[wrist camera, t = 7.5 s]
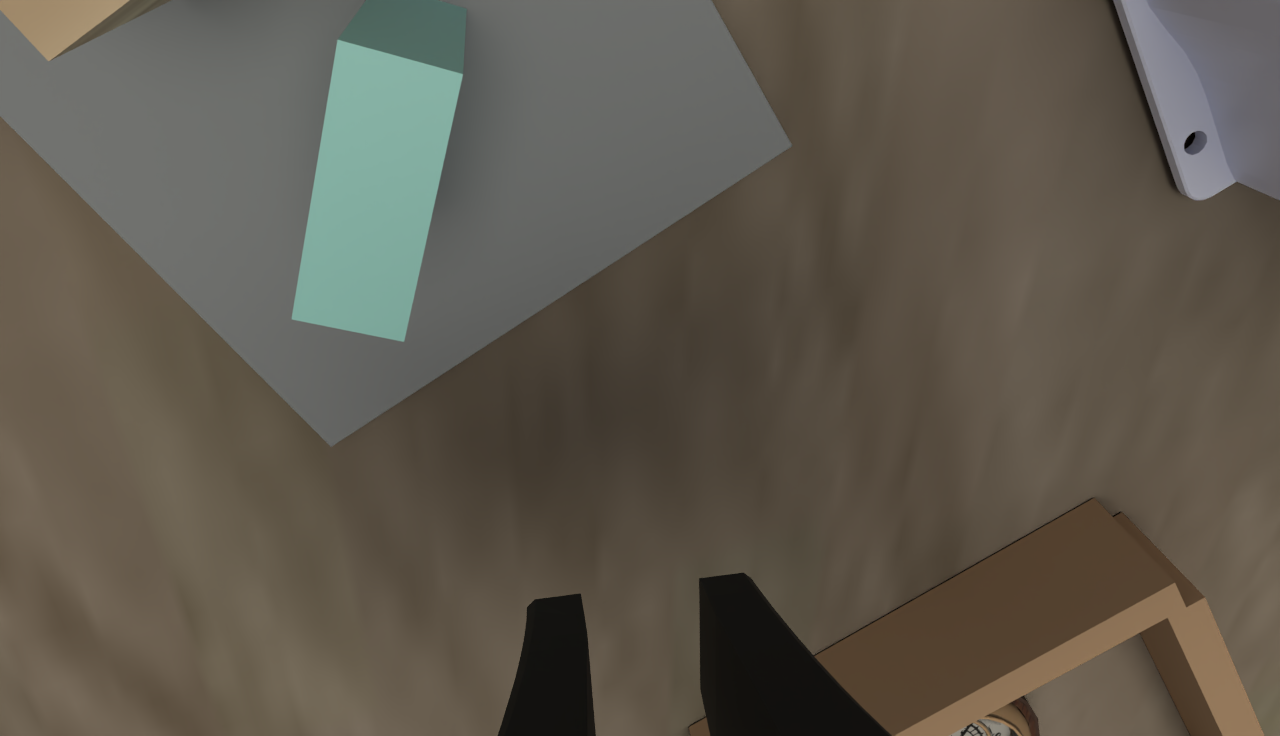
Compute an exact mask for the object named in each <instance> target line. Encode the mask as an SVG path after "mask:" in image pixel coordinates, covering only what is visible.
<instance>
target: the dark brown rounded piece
mask: <svg viewBox="0 0 1280 736" xmlns="http://www.w3.org/2000/svg"><path fill="white" fill-rule="evenodd" d="M949 736H1040V735H1039V726H1038V718H1037V716H1036V715H1035V713H1034V711H1033V710H1032V708H1031V707H1030V705H1029V703H1028V702H1027V700H1026V699H1025V697H1024V696H1022V697H1020V698H1018V699H1016V700H1014V701H1012V702H1010V703H1009V704H1007V705H1005V706H1003V707H1001V708H999V709H998V710H996V711H994V712H992V713H990V714H988V715H986V716H985V717H983V718H981V719H979V720H977V721H975V722H973V723H972V724H970V725H968V726H966V727H964V728H962V729H960V730H959V731H957V732H955V733H953V734H951V735H949Z"/></svg>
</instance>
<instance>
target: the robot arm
mask: <svg viewBox="0 0 1280 736" xmlns="http://www.w3.org/2000/svg"><path fill="white" fill-rule="evenodd" d="M1113 1H1114V4H1115V7H1116V10H1117V13H1118V16H1119V19H1120V22H1121V25H1122V28H1123V31H1124V34H1125V36H1126V39H1127V42H1128V45H1129V48H1130V51H1131V54H1132V57H1133V60H1134V63H1135V66H1136V69H1137V72H1138V75H1139V78H1140V80H1141V83H1142V86H1143V89H1144V92H1145V95H1146V98H1147V101H1148V104H1149V107H1150V110H1151V113H1152V116H1153V119H1154V122H1155V125H1156V127H1157V130H1158V133H1159V136H1160V139H1161V142H1162V145H1163V148H1164V151H1165V154H1166V157H1167V160H1168V163H1169V166H1170V169H1171V172H1172V174H1173V177H1174V180H1175V183H1176V186H1177V188H1178V190H1179V191H1180V193H1181V194H1183V195H1185V196H1188V197H1190V198H1192V199H1194V200H1205V199H1207V198H1210V197H1212V196H1214V195H1215V194H1217V193H1219V192H1220V191H1222V190H1224V189H1225V188H1227V187H1229V186H1230V185H1232V184H1234V183H1235V182H1239V183H1241V184H1243V185H1245V186H1248V187H1250V188H1252V189H1255V190H1257V191H1259V192H1261V193H1264V194H1266V195H1268V196H1271V197H1273V198H1275V199H1277V200H1280V0H1113ZM1193 132H1195V139H1194V141H1193V143H1192V144H1191V145H1190V146H1189V147H1188V148H1186V149H1184V143H1185V141H1186V139H1187V137H1188V136H1189V135H1190V134H1191V133H1193ZM699 594H700V687H701V694H702V699H703V704H704V708H705V713H706V718H707V723H708V728H709V732H710V736H892V735H891V734H890V733H889V732H887V731H886V730H885V729H884V728H883V727H882V726H881V725H880V724H879V723H878V722H877V721H876V720H875V719H874V718H873V717H872V716H871V715H870V714H869V713H868V712H867V711H866V710H865V709H864V708H862V707H861V706H860V705H859V704H858V702H857V701H856V700H855V699H854V698H853V697H852V696H851V695H850V694H849V693H848V692H847V691H846V690H845V689H844V688H843V687H842V686H841V685H840V684H839V683H838V682H837V681H836V680H835V679H834V677H833V676H832V675H831V674H830V673H829V672H828V671H827V670H826V669H825V668H824V667H823V666H822V664H821V663H820V662H819V661H818V660H817V659H816V658H815V657H814V656H813V655H812V653H811V652H810V651H809V650H808V649H807V648H806V647H805V645H804V644H803V643H802V642H801V641H800V640H799V639H798V637H797V636H796V635H795V634H794V633H793V631H792V630H791V629H790V628H789V627H788V625H787V624H786V623H785V622H784V621H783V619H782V618H781V617H780V616H779V614H778V613H777V612H776V611H775V609H774V608H773V607H772V606H771V604H770V603H769V602H768V600H767V599H766V598H765V596H764V595H763V594H762V592H761V591H760V590H759V588H758V587H757V586H756V584H755V583H754V582H753V580H752V579H751V578H750V577H749V576H747V575H746V574H745V573H738V574H730V575H722V576H714V577H707V578H699ZM498 736H596V734H595V722H594V710H593V698H592V686H591V674H590V662H589V650H588V638H587V629H586V623H585V616H584V610H583V605H582V599H581V594H574V595H566V596H559V597H551V598H543V599H535V600H534V601H533V602H532V603H531V604H530V605H529V606H528V607H527V621H526V629H525V636H524V642H523V648H522V652H521V657H520V661H519V665H518V669H517V674H516V678H515V682H514V685H513V688H512V692H511V695H510V698H509V701H508V705H507V708H506V711H505V715H504V718H503V721H502V725H501V728H500V730H499V733H498Z"/></svg>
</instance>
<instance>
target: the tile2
mask: <svg viewBox="0 0 1280 736" xmlns="http://www.w3.org/2000/svg"><path fill="white" fill-rule="evenodd" d="M169 1H171V0H0V10H1V11H2V12H3V13H4V15H5V16H6V17H7V18H8V19H9V20H10V21H11V22H12V23H13V24H14V25H15V26H16V27H17V28H18V29H19V30H20V32H21V33H22V34H23V35H24V36H25V37H26V38H27V39H28V40H29V41H30V42H31V43H32V44H33V45H34V46H35V48H36V49H37V50H38V51H39V52H40V53H41V54H42V55H43V56H44V57H45V58H46V59H47V60H48V61H51V60H53V59H55V58H57V57H59V56H61V55H63V54H65V53H67V52H69V51H71V50H73V49H75V48H77V47H79V46H81V45H83V44H85V43H87V42H89V41H91V40H93V39H95V38H97V37H99V36H101V35H103V34H105V33H107V32H109V31H111V30H113V29H115V28H117V27H119V26H121V25H123V24H125V23H127V22H129V21H131V20H133V19H135V18H137V17H139V16H141V15H143V14H145V13H147V12H149V11H151V10H153V9H155V8H157V7H159V6H161V5H163V4H165V3H167V2H169Z"/></svg>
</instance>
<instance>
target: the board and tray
mask: <svg viewBox="0 0 1280 736" xmlns="http://www.w3.org/2000/svg"><path fill="white" fill-rule="evenodd" d="M365 1H366V0H171V1H169V2H167V3H165V4H163V5H161V6H159V7H157V8H155V9H153V10H151V11H149V12H147V13H145V14H143V15H141V16H139V17H137V18H135V19H133V20H131V21H129V22H127V23H125V24H123V25H121V26H119V27H117V28H115V29H113V30H111V31H109V32H107V33H105V34H103V35H101V36H99V37H97V38H95V39H93V40H91V41H89V42H87V43H85V44H83V45H81V46H79V47H77V48H75V49H73V50H71V51H69V52H67V53H65V54H63V55H61V56H59V57H57V58H55V59H53V60H51V61H48V60H47V59H46V58H45V57H44V56H43V55H42V54H41V53H40V52H39V51H38V50H37V49H36V48H35V46H34V45H33V44H32V43H31V42H30V41H29V40H28V39H27V38H26V37H25V36H24V35H23V34H22V33H21V32H20V30H19V29H18V28H17V27H16V26H15V25H14V24H13V23H12V22H11V21H10V20H9V19H8V18H7V17H6V16H5V15H4V13H3V12H2V11H1V10H0V116H1V117H2V118H3V119H4V120H5V121H6V122H7V123H8V124H9V125H10V126H11V127H12V128H13V129H14V130H15V131H16V132H17V133H18V134H19V135H20V136H21V137H22V138H23V139H24V140H25V141H26V142H27V143H28V144H29V145H30V146H31V147H32V148H33V149H34V150H35V151H36V152H37V153H38V154H39V155H40V156H41V157H42V158H43V159H44V160H45V161H46V162H47V163H48V164H49V165H50V166H51V167H52V168H53V169H54V170H55V171H56V172H57V173H58V174H59V175H60V176H61V177H62V178H63V179H64V180H65V181H66V182H67V183H68V184H69V185H70V186H71V187H72V188H73V189H74V190H75V191H76V192H77V193H78V194H79V195H80V196H81V197H82V198H83V199H84V200H85V201H86V202H87V203H88V204H89V205H90V206H91V207H92V208H93V209H94V210H95V211H96V212H97V213H98V214H99V215H100V216H101V217H102V218H103V219H104V220H105V221H106V222H107V223H108V224H109V225H110V226H111V227H112V228H113V229H114V230H115V231H116V232H117V233H118V234H119V235H120V236H121V237H122V238H123V239H124V240H125V241H126V242H127V243H128V244H129V245H130V246H131V247H132V248H133V249H134V250H135V251H136V252H137V253H138V254H139V255H140V256H141V257H142V258H143V259H144V260H145V261H146V262H147V263H148V264H149V265H150V266H151V267H152V268H153V269H154V270H155V271H156V272H157V273H158V274H159V275H160V276H161V277H162V278H163V279H164V280H165V281H166V282H167V283H168V284H169V285H170V286H171V287H172V288H173V289H174V290H175V291H176V292H177V293H178V294H179V295H180V296H181V297H182V298H183V299H184V300H185V301H186V302H187V303H188V304H189V305H190V306H191V307H192V308H193V309H194V310H195V311H196V312H197V313H198V314H199V315H200V316H201V317H202V318H203V319H204V320H205V321H206V322H207V323H208V324H209V325H210V326H211V327H212V328H213V329H214V330H215V331H216V332H217V333H218V334H219V335H220V336H221V337H222V338H223V339H224V340H225V341H226V342H227V343H228V344H229V345H230V346H231V347H232V348H233V349H234V350H235V351H236V352H237V353H238V354H239V355H240V356H241V357H242V358H243V359H244V360H245V361H246V362H247V363H248V364H249V365H250V366H251V367H252V368H253V369H254V370H255V371H256V372H257V373H258V374H259V375H260V376H261V377H262V378H263V379H264V380H265V381H266V382H267V383H268V384H269V385H270V386H271V387H272V388H273V389H274V390H275V391H276V392H277V393H278V394H279V395H280V396H281V397H282V398H283V399H284V400H285V401H286V402H287V403H288V404H289V405H290V406H291V407H292V408H293V409H294V410H295V411H296V412H297V413H298V414H299V415H300V416H301V417H302V418H303V419H304V420H305V421H306V422H307V423H308V424H309V425H310V426H311V427H312V428H313V429H314V430H315V431H316V432H317V433H318V434H319V435H320V436H321V437H322V438H323V439H324V440H325V441H326V442H327V443H328V444H329V445H330V446H331V447H332V446H333V445H335V444H336V443H338V442H339V441H341V440H342V439H344V438H345V437H347V436H349V435H350V434H352V433H353V432H355V431H356V430H358V429H359V428H361V427H362V426H364V425H365V424H367V423H368V422H370V421H372V420H373V419H375V418H376V417H378V416H379V415H381V414H382V413H384V412H385V411H387V410H388V409H390V408H391V407H393V406H394V405H396V404H398V403H399V402H401V401H402V400H404V399H405V398H407V397H408V396H410V395H411V394H413V393H414V392H416V391H417V390H419V389H421V388H422V387H424V386H425V385H427V384H428V383H430V382H431V381H433V380H434V379H436V378H437V377H439V376H440V375H442V374H444V373H445V372H447V371H448V370H450V369H451V368H453V367H454V366H456V365H457V364H459V363H460V362H462V361H463V360H465V359H467V358H468V357H470V356H471V355H473V354H474V353H476V352H477V351H479V350H480V349H482V348H483V347H485V346H486V345H488V344H490V343H491V342H493V341H494V340H496V339H497V338H499V337H500V336H502V335H503V334H505V333H506V332H508V331H509V330H511V329H513V328H514V327H516V326H517V325H519V324H520V323H522V322H523V321H525V320H526V319H528V318H529V317H531V316H532V315H534V314H536V313H537V312H539V311H540V310H542V309H543V308H545V307H546V306H548V305H549V304H551V303H552V302H554V301H555V300H557V299H559V298H560V297H562V296H563V295H565V294H566V293H568V292H569V291H571V290H572V289H574V288H575V287H577V286H578V285H580V284H582V283H583V282H585V281H586V280H588V279H589V278H591V277H592V276H594V275H595V274H597V273H598V272H600V271H601V270H603V269H605V268H606V267H608V266H609V265H611V264H612V263H614V262H615V261H617V260H618V259H620V258H621V257H623V256H624V255H626V254H627V253H629V252H631V251H632V250H634V249H635V248H637V247H638V246H640V245H641V244H643V243H644V242H646V241H647V240H649V239H650V238H652V237H654V236H655V235H657V234H658V233H660V232H661V231H663V230H664V229H666V228H667V227H669V226H670V225H672V224H673V223H675V222H677V221H678V220H680V219H681V218H683V217H684V216H686V215H687V214H689V213H690V212H692V211H693V210H695V209H696V208H698V207H700V206H701V205H703V204H704V203H706V202H707V201H709V200H710V199H712V198H713V197H715V196H716V195H718V194H719V193H721V192H723V191H724V190H726V189H727V188H729V187H730V186H732V185H733V184H735V183H736V182H738V181H739V180H741V179H742V178H744V177H746V176H747V175H749V174H750V173H752V172H753V171H755V170H756V169H758V168H759V167H761V166H762V165H764V164H765V163H767V162H769V161H770V160H772V159H773V158H775V157H776V156H778V155H779V154H781V153H782V152H784V151H785V150H787V149H788V148H790V147H792V144H791V142H790V141H789V139H788V137H787V135H786V133H785V132H784V130H783V128H782V126H781V124H780V123H779V121H778V119H777V117H776V115H775V114H774V112H773V110H772V108H771V107H770V105H769V103H768V101H767V99H766V98H765V96H764V94H763V92H762V90H761V89H760V87H759V85H758V83H757V81H756V80H755V78H754V76H753V74H752V72H751V71H750V69H749V67H748V65H747V63H746V62H745V60H744V58H743V56H742V54H741V53H740V51H739V49H738V47H737V45H736V44H735V42H734V40H733V38H732V36H731V35H730V33H729V31H728V29H727V27H726V26H725V24H724V22H723V20H722V18H721V17H720V15H719V13H718V11H717V9H716V8H715V6H714V4H713V2H712V0H439V1H442V2H446V3H449V4H452V5H456V6H459V7H463V8H466V9H467V12H466V30H465V48H464V66H463V77H462V81H461V86H460V90H459V95H458V99H457V104H456V109H455V113H454V118H453V122H452V127H451V131H450V136H449V140H448V145H447V149H446V154H445V159H444V163H443V168H442V172H441V177H440V181H439V186H438V190H437V195H436V199H435V204H434V208H433V213H432V218H431V222H430V227H429V231H428V236H427V240H426V245H425V249H424V254H423V258H422V263H421V267H420V272H419V277H418V281H417V286H416V290H415V295H414V299H413V304H412V308H411V313H410V317H409V322H408V326H407V331H406V336H405V340H404V342H402V341H397V340H392V339H387V338H382V337H377V336H372V335H367V334H362V333H357V332H352V331H347V330H342V329H337V328H332V327H327V326H322V325H317V324H312V323H307V322H302V321H297V320H292V313H293V307H294V301H295V295H296V289H297V283H298V277H299V271H300V265H301V258H302V252H303V246H304V240H305V234H306V228H307V222H308V216H309V210H310V204H311V198H312V192H313V186H314V180H315V173H316V167H317V161H318V155H319V149H320V143H321V137H322V131H323V125H324V119H325V113H326V107H327V101H328V95H329V88H330V82H331V76H332V70H333V64H334V58H335V52H336V46H337V40H338V38H339V37H340V36H341V34H342V33H343V31H344V30H345V29H346V27H347V26H348V24H349V23H350V22H351V20H352V19H353V18H354V16H355V15H356V13H357V12H358V11H359V9H360V8H361V6H362V5H363V4H364V2H365ZM1138 633H1140V634H1141V636H1142V638H1143V640H1144V642H1145V645H1146V647H1147V649H1148V651H1149V653H1150V655H1151V657H1152V659H1153V661H1154V663H1155V665H1156V667H1157V669H1158V671H1159V673H1160V675H1161V677H1162V679H1163V681H1164V683H1165V685H1166V687H1167V689H1168V691H1169V693H1170V695H1171V697H1172V699H1173V701H1174V703H1175V705H1176V707H1177V709H1178V711H1179V713H1180V715H1181V717H1182V719H1183V721H1184V723H1185V725H1186V728H1187V730H1188V732H1189V734H1190V736H1264V734H1263V731H1262V729H1261V727H1260V724H1259V722H1258V720H1257V717H1256V715H1255V713H1254V710H1253V708H1252V706H1251V703H1250V701H1249V699H1248V696H1247V694H1246V692H1245V689H1244V687H1243V685H1242V682H1241V680H1240V678H1239V675H1238V673H1237V671H1236V668H1235V666H1234V664H1233V661H1232V659H1231V657H1230V654H1229V652H1228V650H1227V647H1226V645H1225V643H1224V640H1223V638H1222V636H1221V633H1220V631H1219V629H1218V626H1217V624H1216V622H1215V619H1214V617H1213V615H1212V612H1211V610H1210V608H1209V605H1208V603H1207V601H1206V598H1205V597H1204V596H1203V595H1202V594H1201V593H1200V592H1199V591H1198V590H1197V589H1196V588H1195V587H1194V585H1193V584H1192V583H1191V582H1190V581H1189V580H1188V579H1187V578H1186V577H1185V576H1184V575H1183V574H1182V573H1181V572H1180V571H1179V570H1178V569H1177V568H1176V567H1175V566H1174V565H1173V564H1172V563H1171V562H1170V561H1169V560H1168V559H1167V558H1166V557H1165V556H1164V555H1163V554H1162V553H1161V552H1160V551H1159V550H1158V549H1157V548H1156V546H1155V545H1154V544H1153V543H1152V542H1151V541H1150V540H1149V539H1148V538H1147V537H1146V536H1145V535H1144V534H1143V533H1142V532H1141V531H1140V530H1139V529H1138V528H1137V527H1136V526H1135V525H1134V524H1133V523H1132V522H1131V521H1130V520H1129V519H1128V518H1127V517H1126V516H1125V515H1124V514H1123V513H1122V512H1121V513H1120V514H1118V515H1116V516H1114V517H1112V516H1111V515H1110V514H1109V513H1108V512H1107V511H1106V510H1105V508H1104V507H1103V506H1102V505H1101V504H1100V503H1099V502H1098V501H1097V500H1096V499H1095V498H1093V499H1091V500H1090V501H1088V502H1086V503H1084V504H1082V505H1081V506H1079V507H1077V508H1075V509H1074V510H1072V511H1070V512H1068V513H1067V514H1065V515H1063V516H1061V517H1059V518H1058V519H1056V520H1054V521H1052V522H1051V523H1049V524H1047V525H1045V526H1044V527H1042V528H1040V529H1038V530H1037V531H1035V532H1033V533H1031V534H1029V535H1028V536H1026V537H1024V538H1022V539H1021V540H1019V541H1017V542H1015V543H1014V544H1012V545H1010V546H1008V547H1006V548H1005V549H1003V550H1001V551H999V552H998V553H996V554H994V555H992V556H991V557H989V558H987V559H985V560H983V561H982V562H980V563H978V564H976V565H975V566H973V567H971V568H969V569H968V570H966V571H964V572H962V573H960V574H959V575H957V576H955V577H953V578H952V579H950V580H948V581H946V582H945V583H943V584H941V585H939V586H937V587H936V588H934V589H932V590H930V591H929V592H927V593H925V594H923V595H922V596H920V597H918V598H916V599H914V600H913V601H911V602H909V603H907V604H906V605H904V606H902V607H900V608H899V609H897V610H895V611H893V612H892V613H890V614H888V615H886V616H884V617H883V618H881V619H879V620H877V621H876V622H874V623H872V624H870V625H869V626H867V627H865V628H863V629H861V630H860V631H858V632H856V633H854V634H853V635H851V636H849V637H847V638H846V639H844V640H842V641H840V642H838V643H837V644H835V645H833V646H831V647H830V648H828V649H826V650H824V651H823V652H821V653H819V654H817V655H815V656H814V657H815V658H816V659H817V660H818V661H819V662H820V663H821V664H822V666H823V667H824V668H825V669H826V670H827V671H828V672H829V673H830V674H831V675H832V676H833V677H834V679H835V680H836V681H837V682H838V683H839V684H840V685H841V686H842V687H843V688H844V689H845V690H846V691H847V692H848V693H849V694H850V695H851V696H852V697H853V698H854V699H855V700H856V701H857V702H858V704H859V705H860V706H861V707H862V708H864V709H865V710H866V711H867V712H868V713H869V714H870V715H871V716H872V717H873V718H874V719H875V720H876V721H877V722H878V723H879V724H880V725H881V726H882V727H883V728H884V729H885V730H886V731H887V732H889V733H890V734H891V735H892V736H949V735H951V734H953V733H955V732H957V731H959V730H960V729H962V728H964V727H966V726H968V725H970V724H972V723H973V722H975V721H977V720H979V719H981V718H983V717H985V716H986V715H988V714H990V713H992V712H994V711H996V710H998V709H999V708H1001V707H1003V706H1005V705H1007V704H1009V703H1010V702H1012V701H1014V700H1016V699H1018V698H1020V697H1022V696H1023V695H1025V694H1027V693H1029V692H1031V691H1033V690H1035V689H1036V688H1038V687H1040V686H1042V685H1044V684H1046V683H1047V682H1049V681H1051V680H1053V679H1055V678H1057V677H1059V676H1060V675H1062V674H1064V673H1066V672H1068V671H1070V670H1072V669H1073V668H1075V667H1077V666H1079V665H1081V664H1083V663H1085V662H1086V661H1088V660H1090V659H1092V658H1094V657H1096V656H1097V655H1099V654H1101V653H1103V652H1105V651H1107V650H1109V649H1110V648H1112V647H1114V646H1116V645H1118V644H1120V643H1122V642H1123V641H1125V640H1127V639H1129V638H1131V637H1133V636H1134V635H1136V634H1138ZM689 731H690V735H691V736H710V732H709V728H708V723H707V718H704V719H702V720H701V721H699V722H697V723H695V724H693V725H692V726H690V727H689Z"/></svg>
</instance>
